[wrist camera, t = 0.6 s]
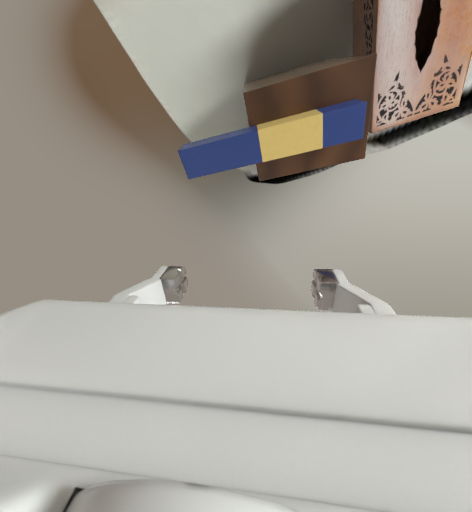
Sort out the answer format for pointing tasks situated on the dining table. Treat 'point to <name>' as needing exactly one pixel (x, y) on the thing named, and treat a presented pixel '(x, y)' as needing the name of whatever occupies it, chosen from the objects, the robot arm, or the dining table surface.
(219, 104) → the dining table surface
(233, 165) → the spaghetti packet
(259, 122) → the brown box
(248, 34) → the dining table surface
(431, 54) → the tissue box cover
